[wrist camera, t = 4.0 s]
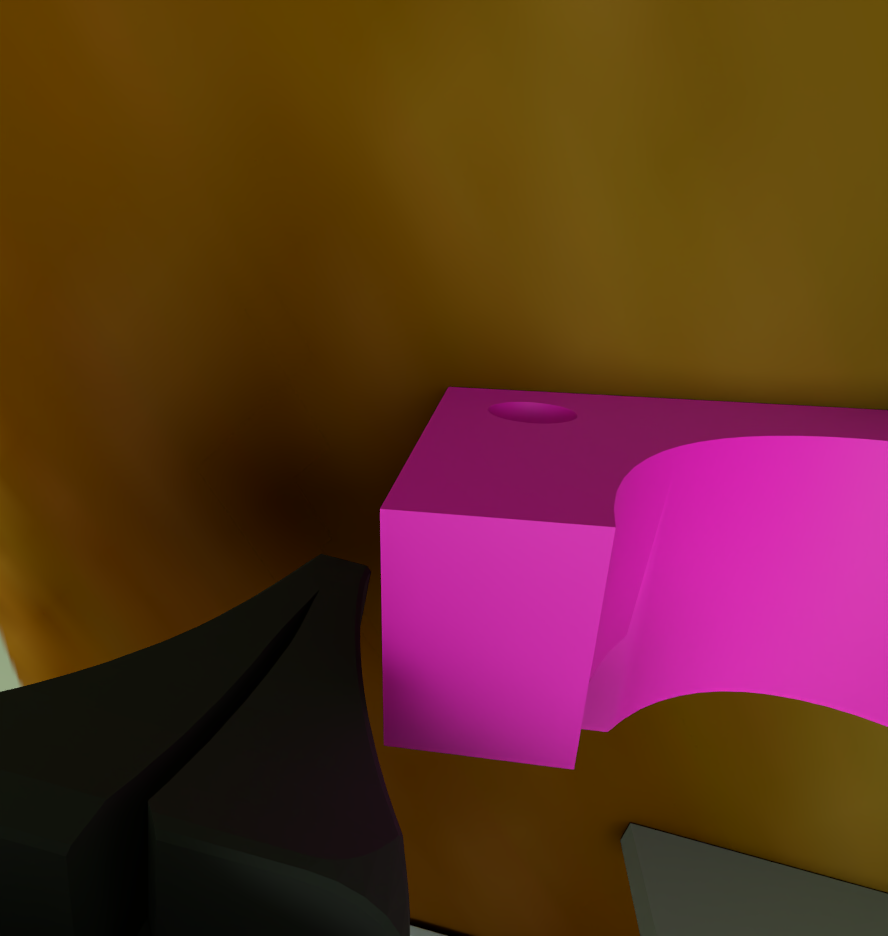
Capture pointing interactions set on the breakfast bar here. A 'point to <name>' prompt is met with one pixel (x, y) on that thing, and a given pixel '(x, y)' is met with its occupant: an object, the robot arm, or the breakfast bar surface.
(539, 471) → the toy block
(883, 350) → the breakfast bar surface
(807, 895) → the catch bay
